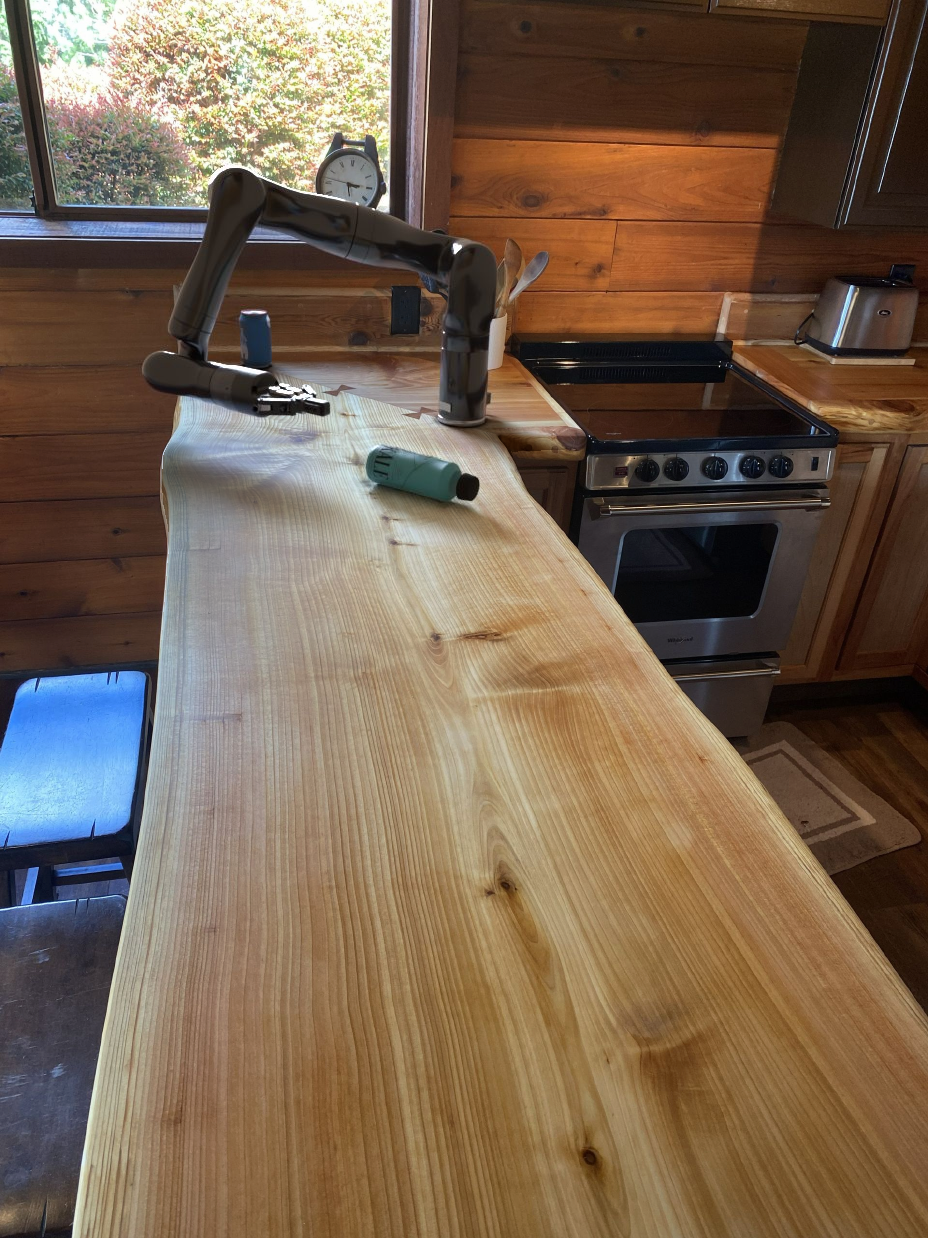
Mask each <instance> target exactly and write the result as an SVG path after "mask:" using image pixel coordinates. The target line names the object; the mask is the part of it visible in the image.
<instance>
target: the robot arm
mask: <svg viewBox="0 0 928 1238" xmlns="http://www.w3.org/2000/svg"><path fill="white" fill-rule="evenodd" d="M206 190H207V191H206V194H207V195H206V196H207V200H208V203H209V206H208V207H209V208H208V213H207V219H206V225H205V229H204V233H203V236H202V238H201V242H200V245H199V247H198V250H197V253H196V256H195V257H194V260H193V262H192V264H191V266H190V268H189V270H188V272H187V273H186V277H185V278H184V281H183V282H182V285H181V288H180V290H179V293H178V296H177V298H176V300H175V303H174V307H173V310H172V312H171V315H170V318H169V321H168V324H167V331H168V333H169V335H170V336H171V337H172V338H174V339H175V340H177V341H178V353H175V352H171V351H166V350H157V351H154V352H151V353H150V354H149V355H148V356H147V357H146V358H145V359H144V361H143V363H142V367H141V375H142V377H143V380H144V382H145V383H146V384H147V385H148V387H149V388H150V389H152V390H153V391H155V392H158V393H161V394H162V393H163V394H167V395H173V396H178V397H183V398H190V399H194V400H197V401H199V402H203V403H206V404H209V405H213V406H217V407H221V408H223V409H226V410H228V411H232V412H235V413H240V414H243V415H248V416H252V417H257V418H261V419H262V418H263V419H264V418H268V417H270V416H277V417H278V416H281V417H282V416H283V417H284V416H285V417H286V416H287V417H288V416H290V417H295V416H297V414H300V415H306V414H308V415H314V416H317V417H323V418H324V417H327V416H329V415H330V414H331V403H330V401H328V400H324V399H318V398H317V392H316V391H315V390H314V389H313V388H312V387H311V385H310V384H303V385H301V386H302V387H300V389H299V388H296V387H292V386H291V385H290V384H287V383H280V382H279V380H278V379H277V378H276V376H275V375H274V374H273V373H271V372H269V371H265V370H260V369H257V368H252V367H247V366H241V365H235V364H234V365H233V364H231V365H230V364H225V363H220V362H215V361H208V353H209V341H210V337H211V335H212V332H213V329H214V327H215V325H216V323H217V318H218V316H219V313H220V310H221V308H222V305H223V302H224V298H225V296H226V292H227V289H228V286H229V284H230V281H231V279H232V275H233V272H234V271H235V268H236V265H237V263H238V261H239V258H240V257H241V253H242V252H243V250H244V248H245V245H246V243H247V242H248V240H249V238H250V237H251V235H252V233H253V232H254V230H255V228H257V229H263V230H267V231H272V232H277V233H280V234H284V235H286V236H289V237H292V238H295V239H297V240H299V241H300V242H303V243H306V244H307V245H310V246H312V247H314V248H317V249H318V250H321V251H323V252H326V253H328V254H331V255H334V256H336V257H339V258H343V259H345V260H349V261H352V262H357V263H359V264H363V265H368V266H373V267H379V268H386V269H394V270H395V269H396V270H405V271H406V270H407V271H410V272H415V273H417V274H421V275H423V276H426V277H428V278H430V279H433V280H435V281H437V282H440V283H442V284H445V285H446V286H448V292H447V306H446V310H445V312H444V313H443V315H442V317H441V329H440V330H441V331H440V334H441V335H440V359H439V384H438V385H439V387H438V402H437V410H438V411H437V420H438V421H439V422H440V423H442V424H444V425H447V426H452V427H463V428H465V427H466V428H468V427H477V426H481V425H483V424H484V423H485V422H486V417H487V407H488V405H490V404H491V400H492V392H490V391H488V383H489V370H488V368H489V367H488V366H489V356H490V355H489V353H490V337H491V334H490V333H491V325H492V322H493V320H494V316H495V311H496V303H497V292H498V281H499V266H498V260H497V258H496V255H495V253H494V252H493V250H492V249H491V248H489V247H488V245H485V244H483V243H482V242H479V241H477V240H474V239H470V238H467V237H459V236H453V235H447V234H441V233H436V232H433V231H428V230H424V229H422V228H419V227H417V226H415V225H412V224H409V223H408V222H406V221H404V220H402V219H400V218H398V217H396V216H393V215H391V214H388V213H386V212H384V211H381V210H378V209H377V208H376V209H375V208H373V207H370V206H367V205H364V204H362V203H361V204H360V203H358V202H355V201H350V200H347V199H342V198H338V197H334V196H328V195H323V194H317V193H311V192H307V191H302V190H297V189H294V188H290V187H287V186H285V185H283V184H279V183H277V182H275V181H272V180H270V179H267V178H265V177H263V176H261V175H259V174H257V173H256V172H254V171H252V170H251V169H249V168H247V167H244V166H240V165H235V164H232V165H231V164H229V165H225V166H223V167H221V168H219V169H217V170H216V171H215V172H214V173H213V174H212V175H211V177H210V179H209V181H208V183H207V188H206Z"/></svg>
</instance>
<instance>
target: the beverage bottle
mask: <svg viewBox="0 0 928 1238" xmlns="http://www.w3.org/2000/svg"><path fill="white" fill-rule="evenodd" d="M365 473H366V476H367V478H368V480H369V481H371V482H372V483H374V484H377V485H380V486H381V485H382V486H384V487H389V488H393V489H397V490H400V491H405V492H409V493H411V494H414V495H415V494H416V495H419V496H422V497H426V498H430V499H433V500H437V501H440V502H443V503H448V502H450V501H452V500H453V499H455V498H456V499H458V500H460V501H466V502H473V501H474V500H475V499H476V498H477V496H478V494H479V491H480V488H481V487H480V486H481V483H480V479H479V478H478V477H477V476H476V475H473V474H471V473H469V472H464V473H462V471H461V468H460V466H459V464H457V463H456V462H452V461H448V460H444V459H442V458H438V457H434V456H432V455H427V454H425V453H423V454H422V453H417V452H415V451H413V450H412V451H411V450H407V449H404V448H401V447H398V446H393V445H389V444H388V445H386V444H383V443H382V444H377V445H375V446H374V447H372V449H371V450H370V451H369V454H368V455H367V458H366V462H365Z"/></svg>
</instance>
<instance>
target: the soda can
mask: <svg viewBox="0 0 928 1238" xmlns="http://www.w3.org/2000/svg"><path fill="white" fill-rule="evenodd" d="M238 326H239V327H238V328H239V338H240V339H239V340H240V357H241V361H242V364H244V367H246V368H251V369H260V368H261V369H262V368H267V367H269V366H270V365H271V363H272V360H273V351H272V335H271V334H272V331H271V319H270V317H269V314H268V311H267V310H264V309H256V308H254V309H253V308H250V309H249V308H248V309H243V310H241V311H240V316H239V318H238Z"/></svg>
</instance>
